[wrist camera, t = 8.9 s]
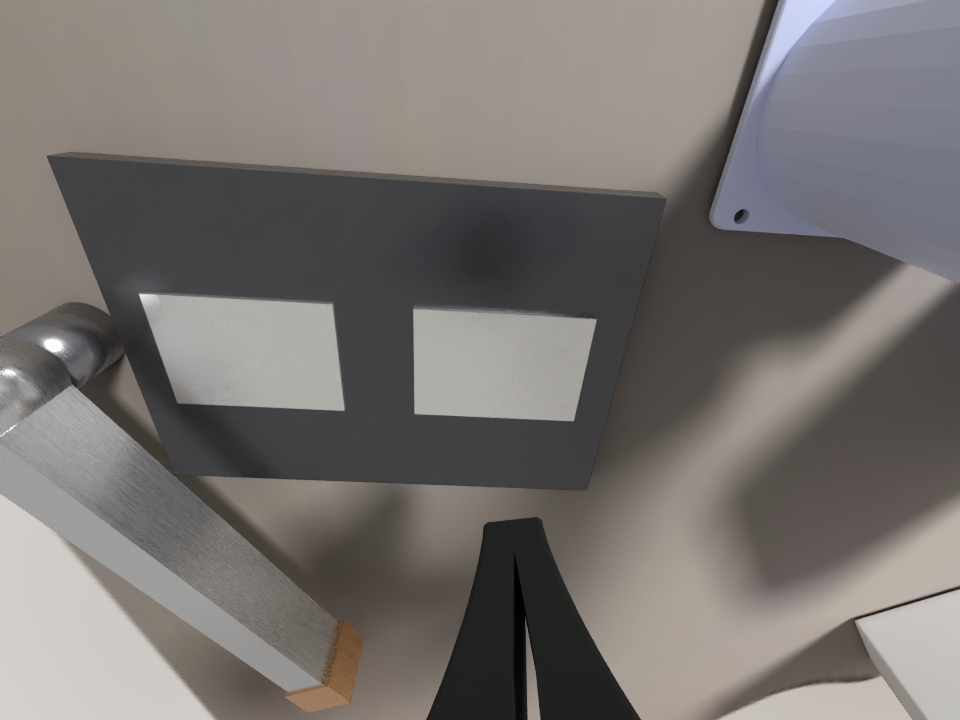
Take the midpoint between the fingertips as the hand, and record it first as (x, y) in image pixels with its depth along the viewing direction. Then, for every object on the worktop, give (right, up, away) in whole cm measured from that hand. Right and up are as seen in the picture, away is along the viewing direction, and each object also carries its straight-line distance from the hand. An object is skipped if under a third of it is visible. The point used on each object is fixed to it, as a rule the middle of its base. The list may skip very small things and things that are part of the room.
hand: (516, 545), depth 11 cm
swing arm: (-13, -3, +9) cm, 16 cm away
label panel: (-7, +5, +8) cm, 12 cm away
